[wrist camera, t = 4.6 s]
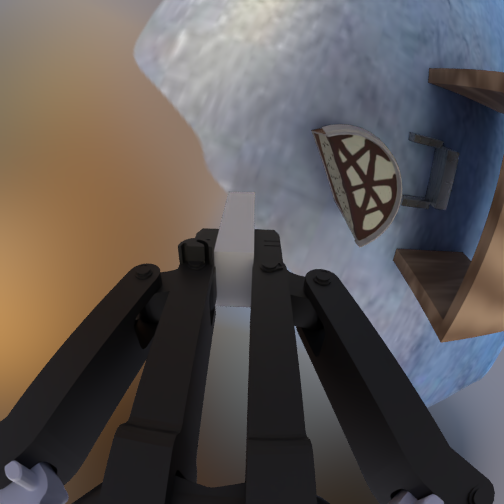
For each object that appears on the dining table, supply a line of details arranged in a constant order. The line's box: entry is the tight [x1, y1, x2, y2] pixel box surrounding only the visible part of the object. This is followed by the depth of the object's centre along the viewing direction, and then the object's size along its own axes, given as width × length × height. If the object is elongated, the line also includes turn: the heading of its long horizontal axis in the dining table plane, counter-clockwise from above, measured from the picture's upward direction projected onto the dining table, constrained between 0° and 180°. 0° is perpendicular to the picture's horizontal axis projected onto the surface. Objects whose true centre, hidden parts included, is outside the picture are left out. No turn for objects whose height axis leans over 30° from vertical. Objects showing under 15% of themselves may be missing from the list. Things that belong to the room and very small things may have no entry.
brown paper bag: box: [393, 68, 504, 342], centre depth 25 cm, size 28×14×16 cm, turn 178°
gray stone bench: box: [400, 132, 459, 210], centre depth 31 cm, size 10×6×3 cm
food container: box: [311, 124, 402, 247], centre depth 28 cm, size 12×6×10 cm, turn 22°
